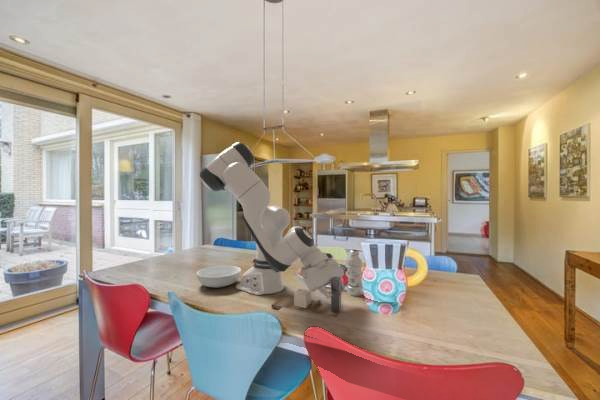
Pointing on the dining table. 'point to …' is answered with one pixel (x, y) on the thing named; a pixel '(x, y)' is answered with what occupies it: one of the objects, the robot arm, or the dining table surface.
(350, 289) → the plastic bottle
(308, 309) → the walnut strip
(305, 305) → the cream cube
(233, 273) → the serving bowl
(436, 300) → the dining table surface
